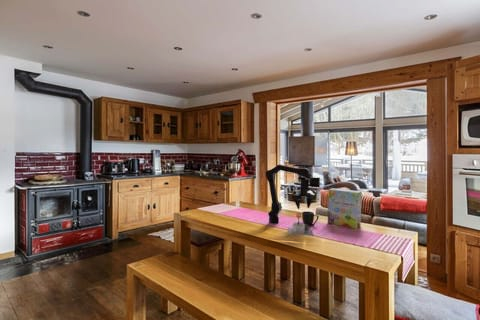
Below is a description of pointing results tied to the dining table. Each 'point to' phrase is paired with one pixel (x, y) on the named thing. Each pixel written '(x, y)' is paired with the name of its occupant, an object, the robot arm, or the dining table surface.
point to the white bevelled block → (299, 227)
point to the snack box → (344, 207)
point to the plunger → (298, 216)
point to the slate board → (300, 233)
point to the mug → (308, 218)
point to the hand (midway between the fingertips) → (303, 208)
